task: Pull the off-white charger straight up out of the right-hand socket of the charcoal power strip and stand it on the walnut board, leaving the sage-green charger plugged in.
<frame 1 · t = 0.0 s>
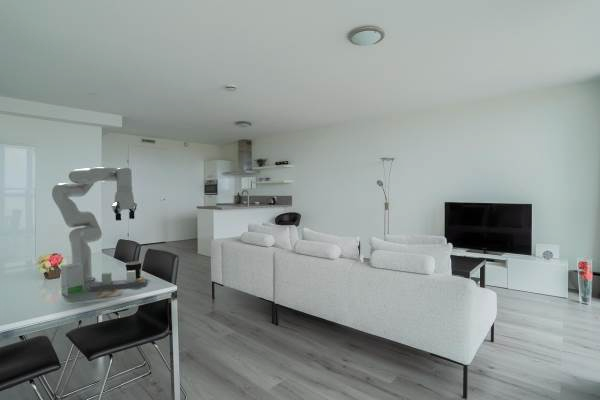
hand: (125, 219, 181), 37 cm above the table, tool pointing down, fingers open, 9 cm apart
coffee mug: (135, 279, 193), on the table
skincare box: (72, 294, 167), on the table
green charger: (106, 287, 174), resting on power strip
white charger: (131, 285, 178), resting on power strip
power strip: (119, 287, 176), on the table
walnut board: (110, 294, 164), on the table
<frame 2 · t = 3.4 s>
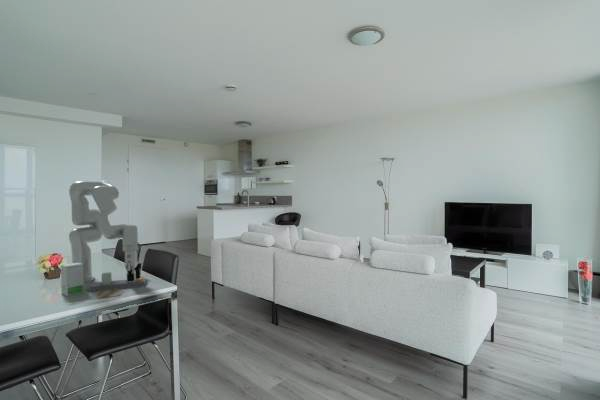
hand: (131, 279, 178), 4 cm above the table, tool pointing down, fingers closed on white charger, 3 cm apart
white charger: (131, 285, 178), point 1 cm above the table, touching gripper, power strip
everything else where it was.
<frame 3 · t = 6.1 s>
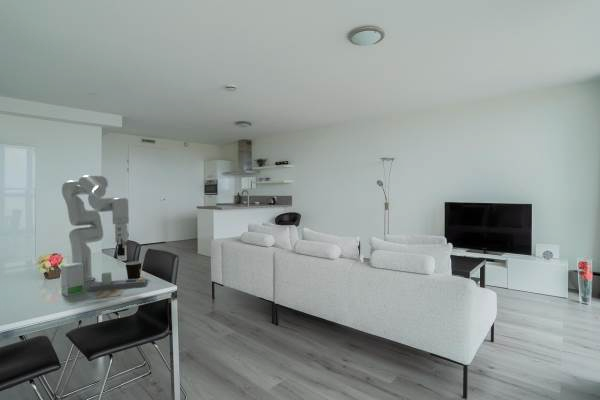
hand: (121, 254, 172), 19 cm above the table, tool pointing down, fingers closed on white charger, 3 cm apart
white charger: (122, 260, 172), point 16 cm above the table, touching gripper
everything else where it was.
when the fingers open (5 cm above the table, at t = 8.8 s): white charger drops 1 cm, resting on walnut board.
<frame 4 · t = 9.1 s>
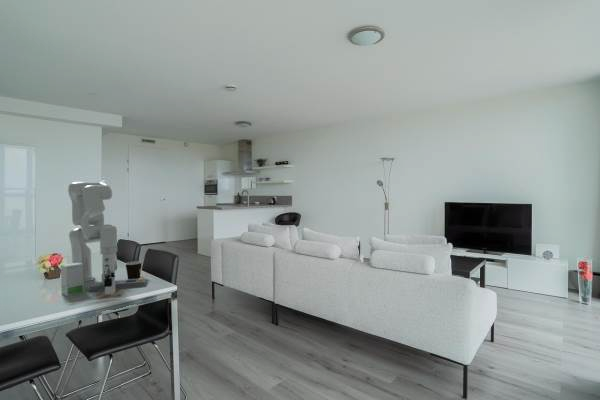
hand: (109, 284, 164), 5 cm above the table, tool pointing down, fingers open, 6 cm apart
white charger: (110, 293, 164), point 1 cm above the table, touching walnut board
everything else where it was.
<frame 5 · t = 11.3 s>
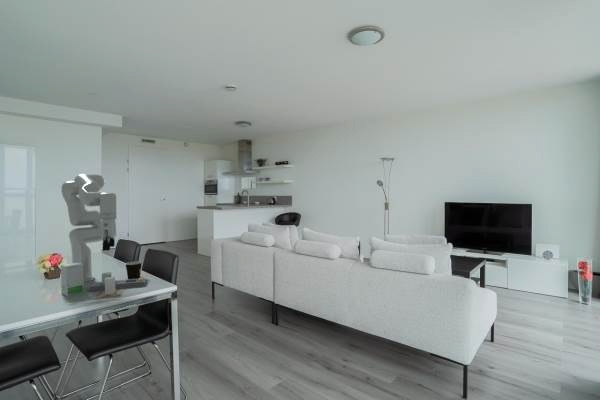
hand: (108, 248, 168), 23 cm above the table, tool pointing down, fingers open, 9 cm apart
nothing on the table moved.
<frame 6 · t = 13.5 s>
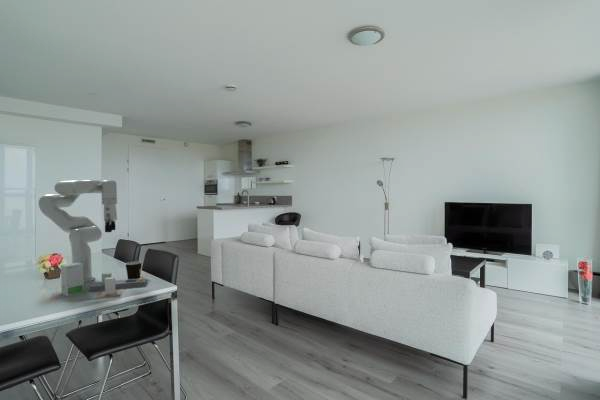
hand: (110, 231, 185), 30 cm above the table, tool pointing down, fingers open, 9 cm apart
nothing on the table moved.
at the end: white charger inside the target area on the walnut board (0.1 cm from its centre), point 0.6 cm above the walnut board's base; white charger tilted 0°; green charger moved 0.0 cm from its start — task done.
